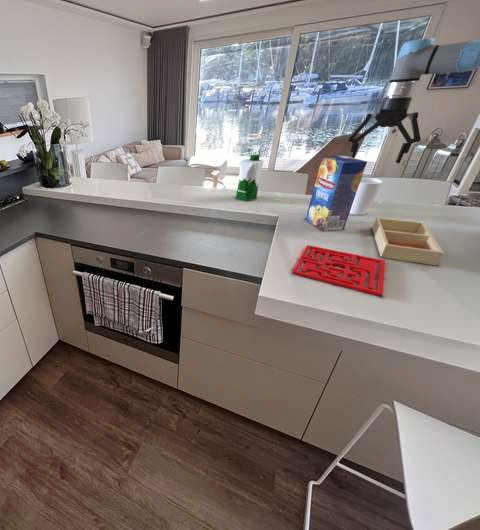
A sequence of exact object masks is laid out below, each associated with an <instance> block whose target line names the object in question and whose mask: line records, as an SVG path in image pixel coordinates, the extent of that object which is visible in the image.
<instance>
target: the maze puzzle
mask: <svg viewBox="0 0 480 530" xmlns="http://www.w3.org/2000/svg"><path fill="white" fill-rule="evenodd" d="M309 250H311V251H310V253H309V255H308V256H307V254H308V252H309ZM315 253H316V254H317V255H316V257H314V256H315ZM322 255H324V256H323V259H322V262H320V259H321V257H322ZM329 256H331V259H330V260H329ZM349 258H351V260H349V261H348V259H349ZM357 259H358V260H359V261H358V265H356V260H357ZM303 263H304V265H303V267H302V269H301V271H299V270H300V268H301V266H302V264H303ZM377 263H378V264H379V271H378V281H377V290H375V289H374V288H375V287H374V286H375V279H376V271H377V270H376V269H377ZM326 265H327V266H328V267H327V268H326ZM317 266H318V267H319V269H318V268H317ZM336 266H338V267H336ZM339 267H342V268H339ZM350 269H352V270H350ZM385 270H386V260H384V259H379V258H374V257H369V256H365V255H364V256H363V255H360V254H354V253H349V252H344V251H339V250H334V249H328V248H324V247H320V246H315V245H308V244H307V245H306V246H305V248H304V250H303V252H302V254H301V255H300V258H299V259H298V262H297V263H296V265H295V267H294V268H293V270H292V274H293V275H297V276H301V277H304V278H309V279H313V280H317V281H319V282H323V283H328V284H331V285H336V286H339V287H344V288H347V289H352V290H355V291H359V292H363V293H367V294H370V295H375V296H378V297H383V295H384V284H385V272H386V271H385ZM307 272H308V273H307ZM327 273H328V274H327ZM340 273H342V277H339V276H340ZM367 273H369V278H368V285H367V287H365V283H366V277H367ZM318 274H319V275H320V276H319V275H318ZM358 274H360V277H357V275H358ZM348 277H351V278H350V280H349V279H348ZM356 284H358V285H356Z"/></svg>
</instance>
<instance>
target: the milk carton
mask: <svg viewBox="0 0 480 530" xmlns="http://www.w3.org/2000/svg"><path fill="white" fill-rule="evenodd" d="M264 162H265V160H264V159H263V160H262V159H260V154H251V155H250V157H249V158H247V159H243V160H240V161H239V175H238V184H237V188H236V189H237V190H236V194H235V199H237V200H242V201H245V202H249V201H252V200H255V199H257V196H258V190H259V184H260V179H261V173H262V168H263V166H264Z"/></svg>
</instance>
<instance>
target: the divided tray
mask: <svg viewBox="0 0 480 530" xmlns="http://www.w3.org/2000/svg"><path fill="white" fill-rule="evenodd" d="M371 229H372V232H373V237H374V240H375V242H376V247H377V249H378V253H379V256H380V258H384V259H385V258H386V259H391V260H398V261H404V262H411V263H418V264H424V265H431V266H438V264H439V262H440V261H441V258H442V257H443V255H444V251H443V250H442V248H441V247H440V245H439V244H438V242H437V241H436V239H435V238H434V237H433V235H432V234H431V232H430V230H429V229H428V228H427V225H426V224H425V223H424V222H422V221H413V220H401V219H392V218H383V217H376V218H375V220H374V222H373V224H372V227H371Z"/></svg>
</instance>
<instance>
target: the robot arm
mask: <svg viewBox="0 0 480 530" xmlns="http://www.w3.org/2000/svg"><path fill="white" fill-rule="evenodd" d="M435 42H436V40H435V38H433V37H431V38H430V37H429V38H421V39H411V40H408V41H406V42H405V43H403V44H402V46H401V48H400V51H399V54H398V56H397V58H396V60H395V64H394V67H393V70H392V73H391V75H390V79H389V81H388V84H387V87H386V90H385V92H384V98H383V99H382V101H381V103H380V107H379V110H378V112H377V113H370V112H368V113H366V115H365V116H364V120H362V122H361V123H360V124H359V125H358V126H357V127H356V129H355V130H354V131H353V132H352V133H351V134H350V135H349V137H348V138H347V141H348V142H350V143H351V146H350V149H349V151H350V153H352V154H351V157H352V158H355V159H356V155H357V152H358V148H359V146H360V141H361V140H363V138H365V137H366V136H367V135H369V134H371V132H373V131H374V130H376V129H377V128H379V127H380V128H387V127H388V128H394V127H397V129H398V131H399V132H400V133H401V136H402V137H403V138H404V141H406V142H403V143H402V145H401V148H400V150H399V153H398V155H397V157H396V160H395V163H396V164H401V161H402V159H403V157H404V154H408V153H409V151H410V149H411V146H412V145H413V144H414V143H419V142H421V140H422V139H421V133H420V128H419V123H418V118H419V112H418V111H414V112H409V113H408V111H409V107H410V105H411V102H412V99H413V98H412V96H414V94H415V92H416V89H417V87H418V84H419V81H420V79H421V77H422V75H435V74H436V75H437V74H455V73H460V74H461V73H464V72H472V71H475V70H477V69H478V68H479V67H480V39H471V40H468V41H460V42H453V43H446V44H435ZM406 118H407V119H408V120H410V125H411V130H412V135H413V138H412V137H411V136H410V134H409V132H408V131H407V129H406V128H405V126H404V124H403V122H402V121H404V120H405V119H406ZM373 119H375V121H376V122H374V123H373V124H372V125H371V126H369V127H368V128H367V129H366V130H364V131H363V132H361V131H362V130H363V129H364V128H365V126H366V125H367V124H368V123H369V121H370V122H371V121H372V120H373ZM360 132H361V133H360ZM359 133H360V134H359ZM358 134H359V135H358Z"/></svg>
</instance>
